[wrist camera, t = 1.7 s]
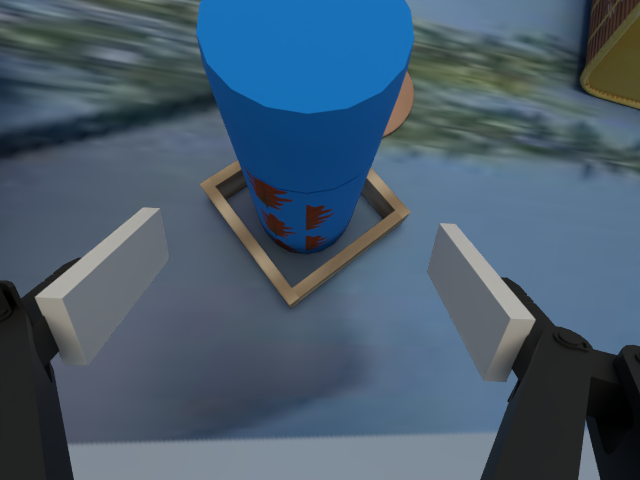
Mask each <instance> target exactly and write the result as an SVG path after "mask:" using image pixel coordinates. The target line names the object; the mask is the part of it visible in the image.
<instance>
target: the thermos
mask: <svg viewBox="0 0 640 480" xmlns="http://www.w3.org/2000/svg"><path fill="white" fill-rule="evenodd" d="M196 34H197V39H198V44H199V48H200V53H201V58H202V63H203V66H204V69H205V72H206V74H207V77H208V80H209V83H210V86H211V89H212V92H213V94H214V97H215V100H216V102H217V105H218V108H219V110H220V113H221V116H222V118H223V121H224V124H225V126H226V129H227V132H228V135H229V137H230V140H231V143H232V145H233V148H234V151H235V153H236V156H237V159H238V161H239V164H240V167H241V169H242V172H243V175H244V177H245V180H246V183H247V186H248V188H249V191H250V194H251V196H252V199H253V202H254V204H255V207H256V210H257V212H258V215H259V218H260V220H261V223H262V225H263V226H264V228H265V230H266V232H267V233H268V234H269V235H270V237H271V238H272V239H273V240H274V241H275V242H276V244H278V245H280V246H282V247H283V248H285V249H287V250H289V251H291V252H298V253H304V254H307V253H313V252H319V251H322V250H324V249H325V248H327V247H329V246H331V245H332V244H334V243H335V242H336V241H337V239H338V238H339V237H340V236H341V235H342V233H343V232H344V231H345V229H346V227H347V225H348V224H349V222H350V219H351V217H352V214H353V211H354V209H355V206H356V204H357V201H358V199H359V196H360V193H361V191H362V188H363V186H364V183H365V181H366V178H367V175H368V173H369V170H370V168H371V165H372V163H373V160H374V157H375V155H376V152H377V150H378V147H379V145H380V142H381V140H382V137H383V134H384V132H385V129H386V127H387V124H388V122H389V119H390V116H391V114H392V111H393V109H394V106H395V104H396V101H397V98H398V96H399V93H400V90H401V87H402V84H403V81H404V78H405V75H406V72H407V69H408V64H409V60H410V56H411V51H412V47H413V42H414V34H413V26H412V17H411V10H410V8H409V7H408V5H407V3H406V2H405V0H202V1H201V2H200V6H199V14H198V23H197V32H196Z"/></svg>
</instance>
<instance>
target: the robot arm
mask: <svg viewBox="0 0 640 480" xmlns="http://www.w3.org/2000/svg"><path fill="white" fill-rule="evenodd" d="M168 260H169V254H168V248H167V243H166V238H165V232H164V227H163V221H162V216H161V210H160V208H144V207H143V208H142V209H141V210H140V211H138V212H137V213H136V214H135V215H134V216H132V217H131V218H130V219H129V220H128V221H126V222H125V223H124V224H123V225H122V226H120V227H119V228H118V229H117V230H115V231H114V232H113V233H112V234H111V235H109V236H108V237H107V238H106V239H105V240H103V241H102V242H101V243H100V244H99V245H97V246H96V247H95V248H94V249H92V250H91V251H90V252H89V253H88V254H86V255H85V256H84V257H83V258H77V259H75V260H73V261H71V262H68V263H66V264H64V265H63V266H62V267H60V268H59V269H58V270H56V271H55V272H54V273H53V275H50V276H49V277H48V278H46V279H45V281H44V282H41V283H40V284H39V285H38V286H36V287H35V288H34V289H33V290H31V291H30V292H29V293H27V294H26V295H25V296H24V297H22V298H20V296H19V294H18V292H17V290H16V287H15V286H14V284H13V283H12V282H9V281H0V480H74V478H73V473H72V467H71V462H70V456H69V451H68V446H67V440H66V435H65V429H64V424H63V419H62V413H61V408H60V402H59V397H58V392H57V386H56V381H55V375H54V370H53V367H52V365H51V363H50V360H51V359H52V358H53V357H54V356H55V355H56V354H57V353H58V352H59V354H60V356H61V358H62V361H63V363H64V365H84V366H88V365H89V364H90V363H91V361H92V360H93V359H94V357H95V356H96V355H97V354H98V352H99V351H100V350H101V348H102V347H103V346H104V344H105V343H106V342H107V340H108V339H109V338H110V336H111V335H112V334H113V332H114V331H115V330H116V329H117V327H118V326H119V325H120V323H121V322H122V321H123V319H124V318H125V317H126V315H127V314H128V313H129V311H130V310H131V309H132V308H133V306H134V305H135V304H136V302H137V301H138V300H139V298H140V297H141V296H142V294H143V293H144V292H145V290H146V289H147V288H148V286H149V285H150V284H151V283H152V281H153V280H154V279H155V277H156V276H157V275H158V273H159V272H160V271H161V269H162V268H163V267H164V265H165V264H166V263H167V262H168ZM427 272H428V274H429V276H430V278H431V280H432V282H433V284H434V286H435V288H436V290H437V292H438V294H439V296H440V297H441V299H442V301H443V303H444V305H445V307H446V309H447V311H448V313H449V315H450V317H451V319H452V321H453V323H454V325H455V327H456V328H457V330H458V332H459V334H460V336H461V338H462V340H463V342H464V344H465V346H466V348H467V350H468V352H469V354H470V356H471V357H472V359H473V361H474V363H475V365H476V367H477V369H478V371H479V373H480V375H481V377H482V379H483V381H497V382H506V380H507V378H508V376H509V374H510V372H511V370H513V371H514V373H515V374H516V376H517V378H518V381H517V383H516V385H515V387H514V389H513V391H512V393H511V395H510V397H509V399H508V401H507V402H509V403H508V406H507V409H506V412H505V414H504V417H503V420H502V422H501V425H500V428H499V430H498V433H497V436H496V439H495V442H494V444H493V447H492V449H491V452H490V455H489V457H488V460H487V463H486V466H485V468H484V471H483V474H482V476H481V479H480V480H578V476H579V468H580V460H581V451H582V444H583V435H584V427H585V419H586V422H587V426H588V430H589V434H590V438H591V442H592V447H593V451H594V455H595V459H596V463H597V467H598V472H599V476H600V480H640V346H636V345H626V346H625V347H623V348H622V349H621V351H620V352H619V354H618V355H614V354H610V353H606V352H602V351H598V350H594V349H593V348H592V346H591V345H590V344H589V342H588V341H587V340H586V339H584V338H583V337H582V336H580V335H579V334H577V333H575V332H573V331H571V330H568V329H565V328H562V327H557V326H555V325H554V324H553V323H552V322H551V321H550V319H549V318H548V317H547V316H546V315H545V314H544V313H543V312H542V311H541V309H540V308H539V307H538V306H537V305H536V304H534V303H533V300H532V299H531V298H530V297H529V296H527V294H526V293H525V292H524V290H523V289H522V288H521V287H520V286H519V285H517V284H516V283H514V282H513V281H511V280H510V279H508V278H502V277H499V275H498V274H497V273H496V272H495V271H494V269H493V268H492V267H491V266H490V265H489V264H488V262H487V261H486V260H485V259H484V258H483V256H482V255H481V254H480V253H479V252H478V250H477V249H476V248H475V247H474V246H473V245H472V243H471V242H470V241H469V240H468V239H467V237H466V236H465V235H464V234H463V233H462V231H461V230H460V229H459V228H458V227H457V226H456V224H444V223H439V227H438V231H437V235H436V239H435V243H434V247H433V250H432V254H431V258H430V262H429V266H428V270H427Z"/></svg>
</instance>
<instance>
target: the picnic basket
mask: <svg viewBox="0 0 640 480" xmlns="http://www.w3.org/2000/svg"><path fill="white" fill-rule="evenodd" d="M580 82H581V86H582V88H583V89H584V90H585V91H586V92H587V93H589V94H591V95H593V96H595V97H598V98H602V99H605V100H609V101H612V102H615V103H619V104H622V105H626V106H629V107H633V108H636V109H640V0H592V6H591V16H590V25H589V35H588V44H587V54H586V63H585V69H584V70H583V72H582V74H581V77H580Z"/></svg>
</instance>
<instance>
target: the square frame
mask: <svg viewBox="0 0 640 480" xmlns="http://www.w3.org/2000/svg"><path fill="white" fill-rule="evenodd" d="M200 186H201V187H202V188H203V190H204V191H205V193H206V194H207V196H208V197H209V199H210V200H211V201H212V203H213V204H214V205H215V207H216V208H217V210H218V211H219V212H220V214H221V215H222V216H223V218H224V219H225V220H226V222H227V223H228V224H229V226H230V227H231V228H232V230H233V231H234V233H235V234H236V235H237V237H238V238H239V239H240V241H241V242H242V243H243V245H244V246H245V247H246V249H247V250H248V251H249V253H250V254H251V255H252V257H253V258H254V260H255V261H256V262H257V264H258V265H259V266H260V268H261V269H262V270H263V272H264V273H265V274H266V276H267V277H268V278H269V280H270V281H271V283H272V284H273V285H274V287H275V288H276V289H277V291H278V292H279V293H280V295H281V296H282V297H283V299H284V300H285V301H286V303H287V304H288V305H289V307H290V308H293V307H294V306H295V305H297V304H298V303H299V302H301V301H302V300H303V299H304V298H306V297H307V296H308V295H310V294H311V293H312V292H314V291H315V290H316V289H317V288H319V287H320V286H321V285H323V284H324V283H325V282H326V281H328V280H329V279H330V278H332V277H333V276H334V275H336V274H337V273H338V272H339V271H341V270H342V269H343V268H345V267H346V266H347V265H349V264H350V263H351V262H352V261H354V260H355V259H356V258H358V257H359V256H360V255H361V254H363V253H364V252H365V251H367V250H368V249H369V248H371V247H372V246H373V245H374V244H376V243H377V242H378V241H380V240H381V239H382V238H384V237H385V236H386V235H387V234H389V233H390V232H391V231H393V230H394V229H395V228H396V227H398V226H399V225H400V224H401V223H402V222H403V221H404V220H405V218H406V217H407V216H408V215H409V214H410V213H411V212H410V211H409V210H408V209H407V208H406V206H405V205H404V204H403V203H402V202H401V201H400V200H399V199H398V198H397V196H396V195H395V194H394V193H393V192H392V191H391V190H390V189H389V187H388V186H387V185H386V184H385V183H384V182H383V181H382V180H381V179H380V177H379V176H378V175H377V174H376V173H375V172H374V171H373V170H372V168H370V170H369V173H368V175H367V178H366V181H365V183H364V186H363V188H362V191H361V194H362V195H363V196H364V197H365V198H366V199H367V201H368V202H369V203H370V204H371V205H372V206H373V207H374V209H375V210H376V211H377V212H378V213H379V214H380V216H381V217H382V218H383V220H382V221H380V222H379V223H378V224H377V225H375V226H374V227H373V228H371V229H370V230H369V231H367V232H366V233H365V234H363V235H362V236H361V237H359V238H358V239H357V240H355V241H354V242H353V243H351V244H350V245H349V246H347V247H346V248H345V249H343V250H342V251H341V252H339V253H338V254H337V255H336V256H334V257H333V258H332V259H330V260H329V261H328V262H326V263H325V264H324V265H322V266H321V267H320V268H318V269H317V270H316V271H314V272H313V273H312V274H310V275H309V276H308V277H306V278H305V279H304V280H302V281H301V282H300V283H298V284H297V285H296V286H295V287H293V288H291V286H290V285H289V284H288V282H287V281H286V280H285V279H284V277H283V276H282V275H281V273H280V272H279V271H278V269H277V268H276V267H275V265H274V264H273V263H272V261H271V260H270V259H269V257H268V256H267V255H266V253H265V252H264V251H263V249H262V248H261V247H260V245H259V244H258V243H257V241H256V240H255V239H254V237H253V236H252V235H251V233H250V232H249V231H248V229H247V228H246V227H245V225H244V224H243V223H242V221H241V220H240V219H239V217H238V216H237V215H236V213H235V212H234V211H233V209H232V208H231V207H230V205H229V204H228V203H227V201H226V199H227V198H229V197H230V196H232V195H233V194H235V193H237V192H238V191H240V190H241V189H243V188H244V187H246V186H247V183H246V180H245V177H244V175H243V172H242V169H241V167H240V164H239V161H238V160H237V161H236V162H234V163H232V164H231V165H229V166H228V167H226V168H224V169H223V170H221V171H220V172H218V173H217V174H215V175H213V176H212V177H210V178H209V179H207V180H205V181H204V182H202V183H201V184H200Z"/></svg>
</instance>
